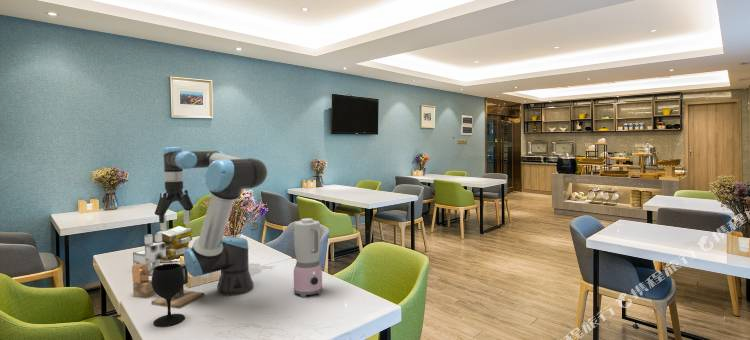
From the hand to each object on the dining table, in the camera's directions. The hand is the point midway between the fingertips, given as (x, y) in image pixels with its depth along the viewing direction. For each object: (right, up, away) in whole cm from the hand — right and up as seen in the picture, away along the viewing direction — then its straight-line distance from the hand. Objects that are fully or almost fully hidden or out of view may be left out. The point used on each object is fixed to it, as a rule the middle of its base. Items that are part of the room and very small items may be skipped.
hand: (175, 227), depth 182 cm
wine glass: (+16, -29, -37) cm, 50 cm away
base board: (+10, -28, -17) cm, 34 cm away
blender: (+63, -27, -11) cm, 70 cm away
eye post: (+10, -27, -17) cm, 33 cm away
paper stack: (-25, -24, +48) cm, 59 cm away
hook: (-2, -22, -14) cm, 26 cm away
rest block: (-7, -28, -12) cm, 31 cm away
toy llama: (-24, -26, +21) cm, 41 cm away
